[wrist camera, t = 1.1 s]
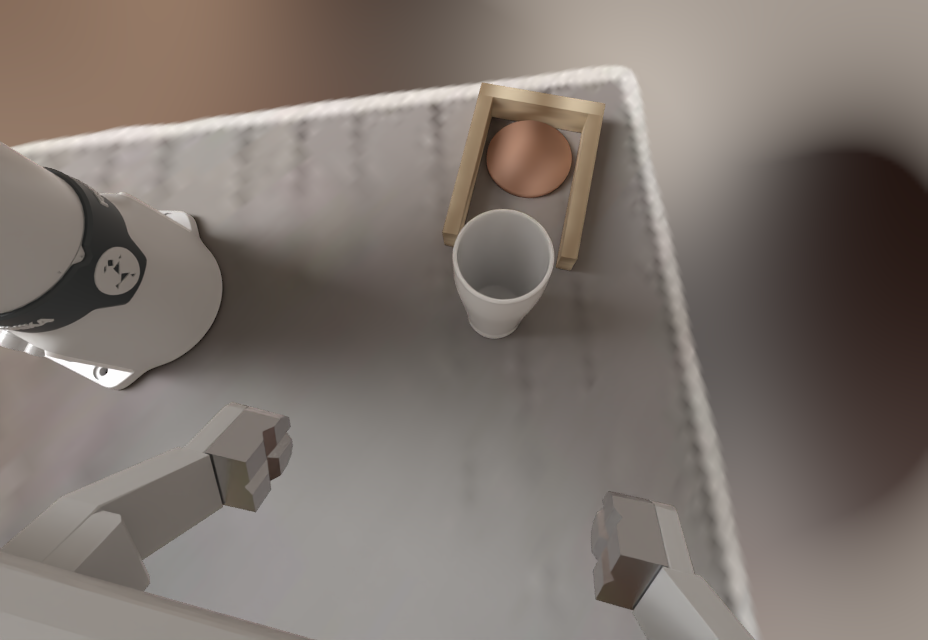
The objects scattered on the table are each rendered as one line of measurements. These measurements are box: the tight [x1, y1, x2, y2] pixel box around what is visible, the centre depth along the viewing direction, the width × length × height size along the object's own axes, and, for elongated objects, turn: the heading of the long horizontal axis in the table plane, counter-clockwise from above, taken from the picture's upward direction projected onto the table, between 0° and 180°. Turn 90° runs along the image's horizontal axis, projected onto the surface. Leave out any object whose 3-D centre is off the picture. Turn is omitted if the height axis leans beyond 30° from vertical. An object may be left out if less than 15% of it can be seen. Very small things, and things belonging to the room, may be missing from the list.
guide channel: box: [442, 83, 605, 271], centre depth 44 cm, size 13×18×3 cm
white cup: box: [453, 209, 554, 339], centre depth 35 cm, size 7×7×15 cm
